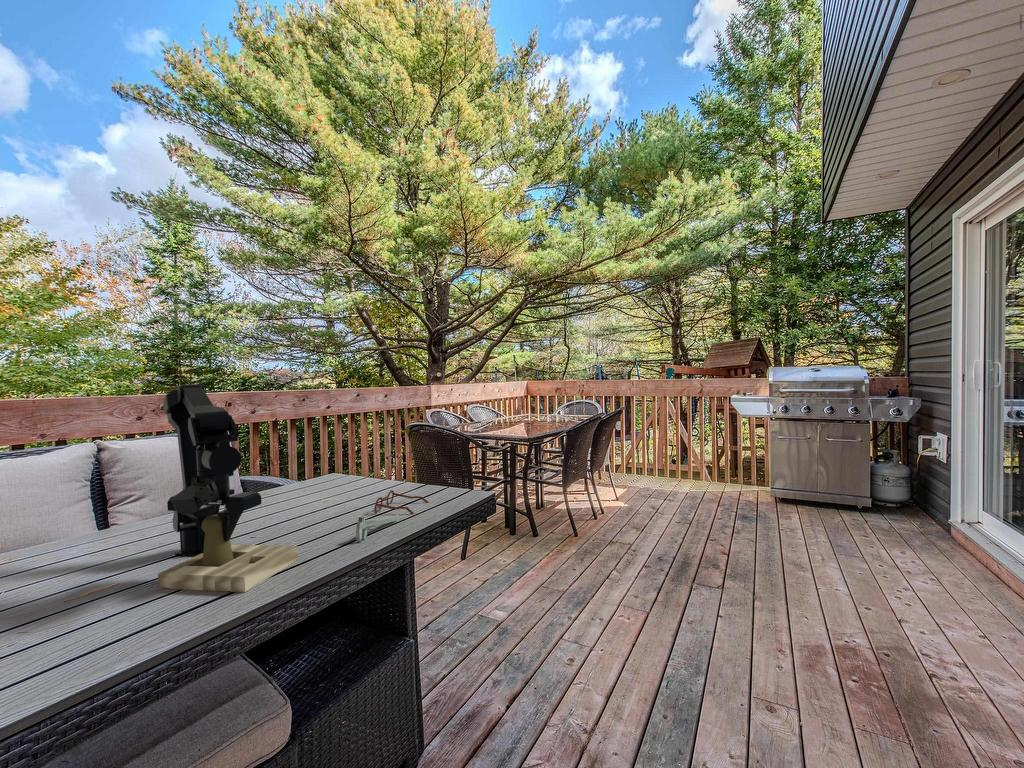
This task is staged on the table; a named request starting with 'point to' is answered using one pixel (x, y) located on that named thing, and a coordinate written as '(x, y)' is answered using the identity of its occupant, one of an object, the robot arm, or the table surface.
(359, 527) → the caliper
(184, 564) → the block
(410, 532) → the table surface
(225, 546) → the olive knobbed peg
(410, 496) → the glasses
